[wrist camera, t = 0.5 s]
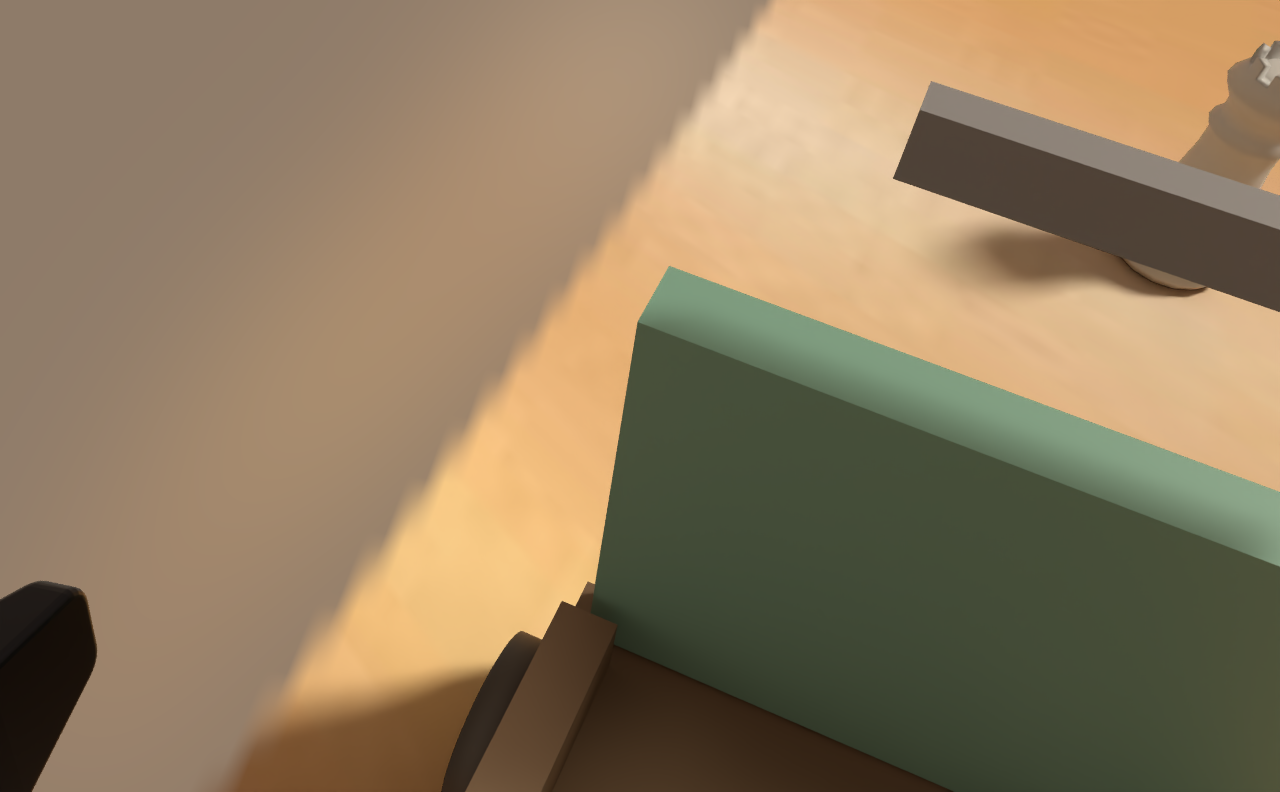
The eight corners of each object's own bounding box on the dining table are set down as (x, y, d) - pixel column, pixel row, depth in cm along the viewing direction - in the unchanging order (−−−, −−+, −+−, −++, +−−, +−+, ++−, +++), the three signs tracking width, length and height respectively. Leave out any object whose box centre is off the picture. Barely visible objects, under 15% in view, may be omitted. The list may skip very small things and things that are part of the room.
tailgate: (1200, 897, 20) (2016, 557, 9) (586, 633, 22) (675, 96, 11) (1205, 809, 21) (1943, 414, 10) (620, 564, 23) (728, 14, 12)
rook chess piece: (1099, 199, 40) (1213, 11, 33) (1215, 223, 39) (1352, 38, 33) (1111, 282, 37) (1239, 94, 30) (1236, 307, 37) (1390, 124, 30)
